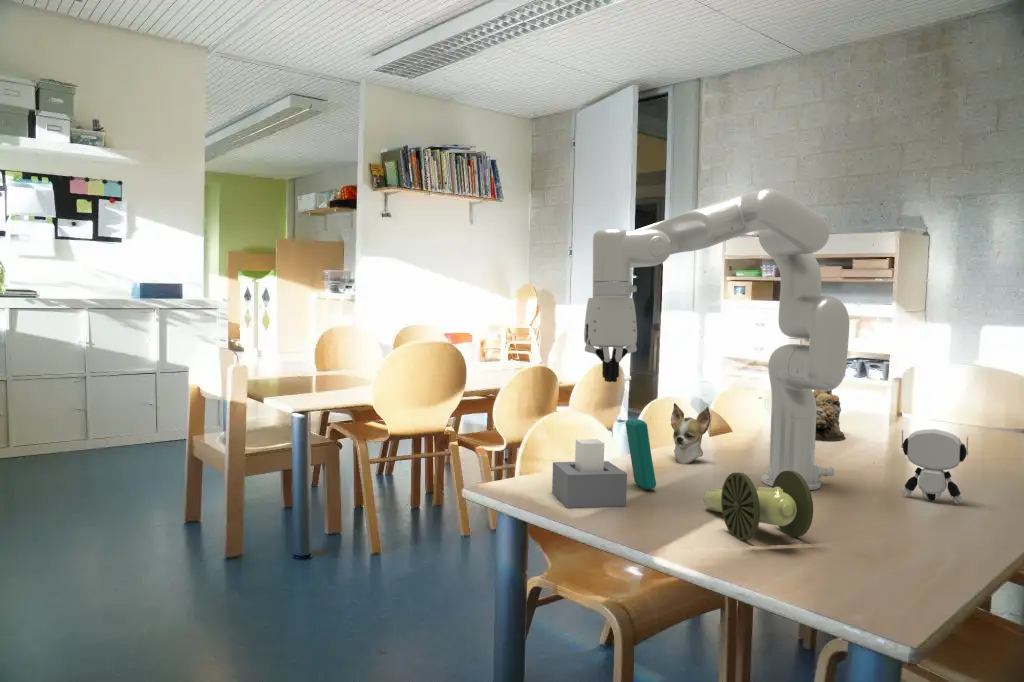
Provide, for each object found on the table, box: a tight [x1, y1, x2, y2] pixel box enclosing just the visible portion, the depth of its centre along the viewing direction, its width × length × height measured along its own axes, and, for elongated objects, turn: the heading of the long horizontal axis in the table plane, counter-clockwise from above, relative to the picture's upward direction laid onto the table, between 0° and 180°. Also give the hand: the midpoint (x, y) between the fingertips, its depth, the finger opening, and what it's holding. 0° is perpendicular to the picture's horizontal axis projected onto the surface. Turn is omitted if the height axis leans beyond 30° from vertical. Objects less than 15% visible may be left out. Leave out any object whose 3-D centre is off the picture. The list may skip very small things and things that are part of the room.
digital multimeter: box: [625, 418, 657, 490], centre depth 163 cm, size 7×15×3 cm
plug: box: [574, 438, 605, 472], centre depth 153 cm, size 5×5×10 cm
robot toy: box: [900, 428, 969, 504], centre depth 159 cm, size 12×4×15 cm, turn 54°
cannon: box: [702, 471, 814, 541], centre depth 136 cm, size 25×12×11 cm, turn 14°
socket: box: [551, 460, 628, 509], centre depth 153 cm, size 12×12×6 cm
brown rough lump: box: [813, 390, 846, 443], centre depth 229 cm, size 18×12×17 cm, turn 147°
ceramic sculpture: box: [670, 402, 711, 465], centre depth 190 cm, size 11×9×15 cm
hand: (610, 381), depth 154 cm, fingers closed
